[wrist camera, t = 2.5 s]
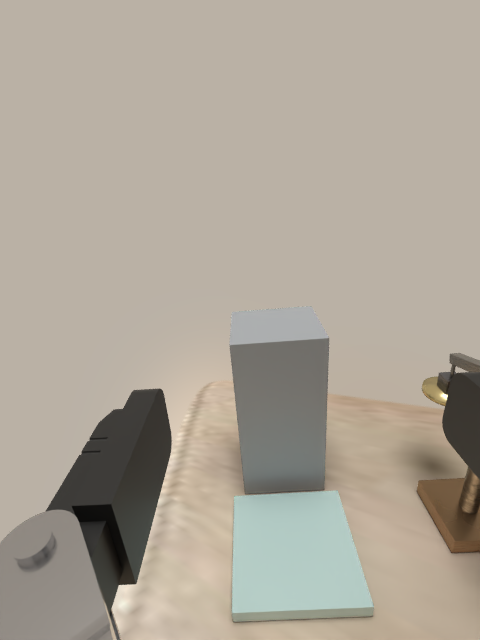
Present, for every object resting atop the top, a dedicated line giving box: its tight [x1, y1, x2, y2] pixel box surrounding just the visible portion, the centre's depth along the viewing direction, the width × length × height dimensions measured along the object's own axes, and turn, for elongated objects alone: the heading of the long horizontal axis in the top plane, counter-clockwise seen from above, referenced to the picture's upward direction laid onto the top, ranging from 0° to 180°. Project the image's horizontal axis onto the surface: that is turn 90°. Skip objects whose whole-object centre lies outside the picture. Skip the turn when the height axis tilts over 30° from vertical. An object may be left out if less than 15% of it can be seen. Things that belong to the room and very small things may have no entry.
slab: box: [232, 490, 374, 622], centre depth 19 cm, size 7×6×1 cm
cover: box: [230, 306, 329, 494], centre depth 23 cm, size 6×5×12 cm
